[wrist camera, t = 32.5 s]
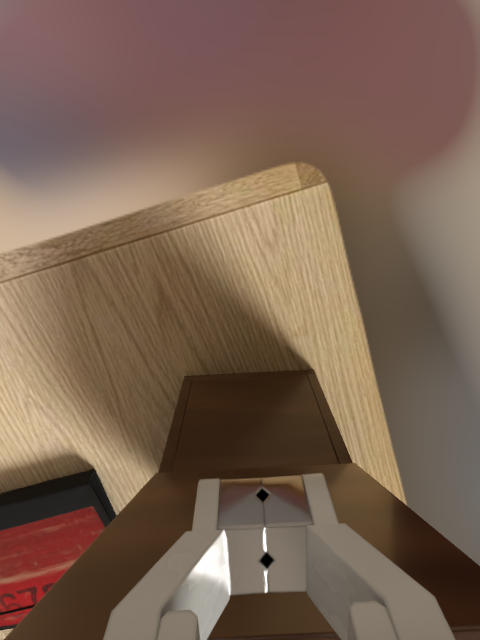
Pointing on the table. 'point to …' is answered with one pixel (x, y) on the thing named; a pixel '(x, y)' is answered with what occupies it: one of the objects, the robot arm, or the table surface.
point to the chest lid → (252, 609)
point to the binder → (46, 537)
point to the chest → (252, 423)
